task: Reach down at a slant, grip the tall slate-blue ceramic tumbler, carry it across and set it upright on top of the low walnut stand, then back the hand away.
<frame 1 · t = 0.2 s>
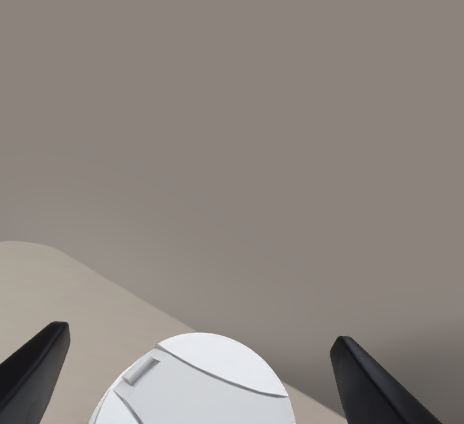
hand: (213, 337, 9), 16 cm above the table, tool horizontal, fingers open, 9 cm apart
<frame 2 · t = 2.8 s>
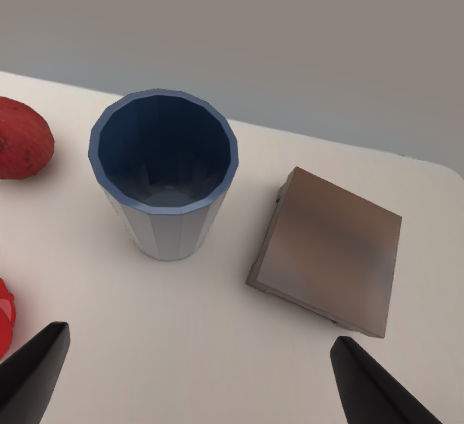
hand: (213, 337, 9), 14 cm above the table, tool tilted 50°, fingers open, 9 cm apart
tumbler: (170, 223, 24), on the table
onion: (32, 165, 23), on the table
stand: (313, 254, 26), on the table
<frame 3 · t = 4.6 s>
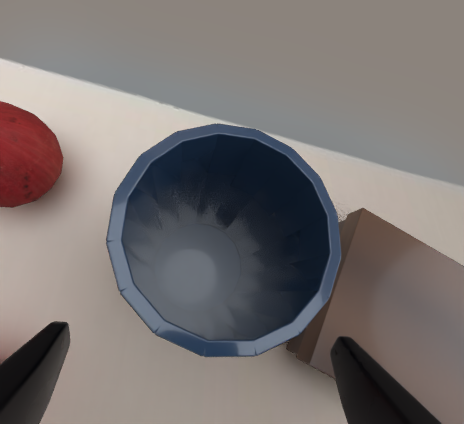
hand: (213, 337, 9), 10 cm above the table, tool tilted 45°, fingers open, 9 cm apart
tumbler: (198, 266, 19), on the table
onion: (35, 182, 19), on the table
stand: (369, 313, 21), on the table
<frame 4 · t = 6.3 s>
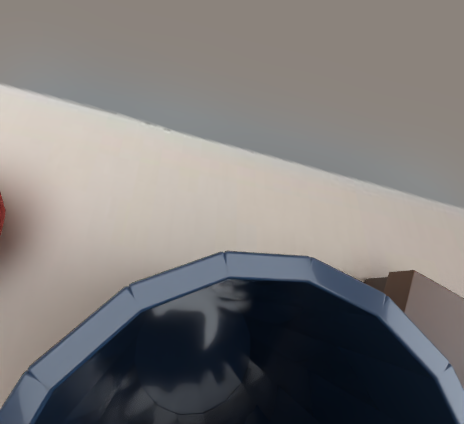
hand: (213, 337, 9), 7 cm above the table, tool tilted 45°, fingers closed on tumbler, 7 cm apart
tumbler: (194, 345, 15), on the table, touching gripper
stand: (415, 398, 16), on the table
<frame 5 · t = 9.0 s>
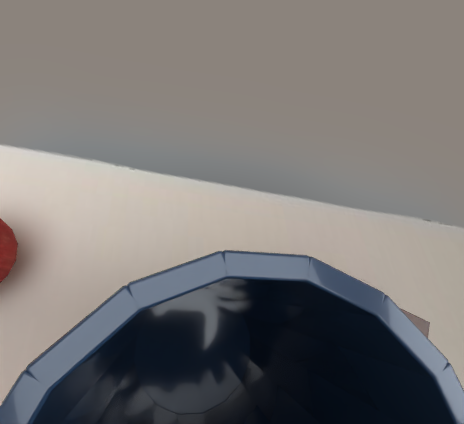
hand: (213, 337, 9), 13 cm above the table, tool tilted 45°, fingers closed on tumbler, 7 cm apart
tumbler: (194, 344, 15), point 7 cm above the table, touching gripper
when the fingers open (11 cm above the table, at t = 11.8 s): tumbler stays where it is, resting on stand.
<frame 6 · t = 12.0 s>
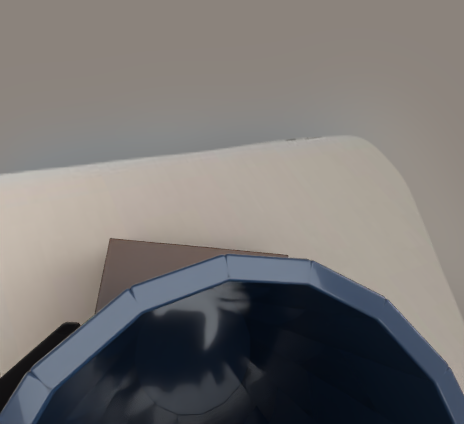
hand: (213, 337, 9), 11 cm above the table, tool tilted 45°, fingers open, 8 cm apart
tumbler: (194, 345, 15), point 4 cm above the table, touching stand
stand: (191, 334, 18), on the table
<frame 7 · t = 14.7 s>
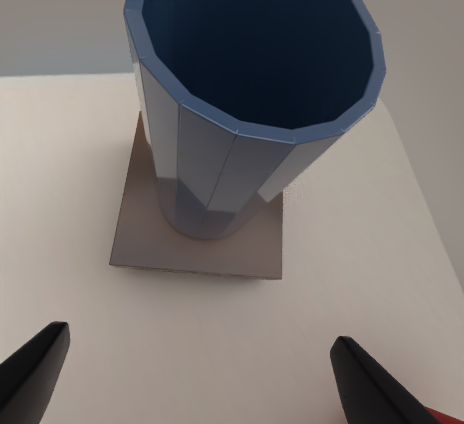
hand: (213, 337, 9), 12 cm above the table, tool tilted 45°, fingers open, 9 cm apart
tumbler: (207, 191, 18), point 4 cm above the table, touching stand
stand: (202, 208, 22), on the table
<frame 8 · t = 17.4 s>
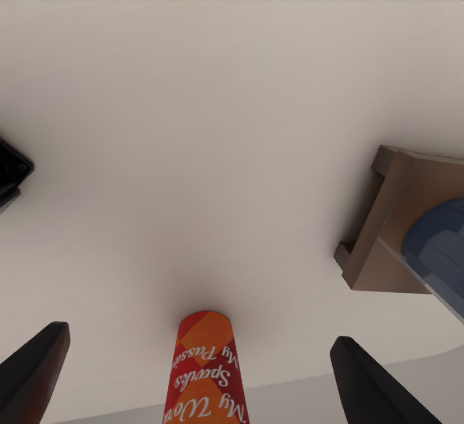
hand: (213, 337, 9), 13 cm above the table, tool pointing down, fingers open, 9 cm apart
paper cup: (204, 327, 28), on the table
tumbler: (446, 238, 20), point 4 cm above the table, touching stand
stand: (409, 213, 23), on the table
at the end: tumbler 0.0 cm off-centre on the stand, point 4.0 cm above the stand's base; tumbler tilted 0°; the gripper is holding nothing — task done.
